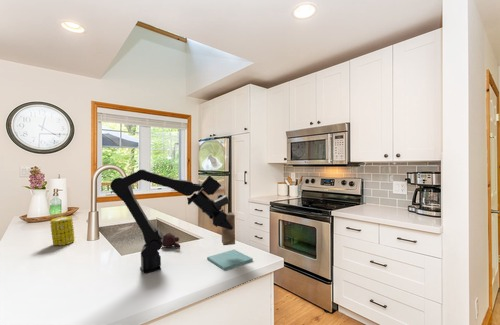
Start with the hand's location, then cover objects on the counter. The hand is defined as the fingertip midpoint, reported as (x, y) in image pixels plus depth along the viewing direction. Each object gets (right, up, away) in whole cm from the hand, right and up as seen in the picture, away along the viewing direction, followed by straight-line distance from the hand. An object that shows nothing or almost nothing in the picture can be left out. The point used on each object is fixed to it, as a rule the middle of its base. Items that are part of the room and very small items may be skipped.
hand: (231, 227), depth 110 cm
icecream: (-33, -14, +17) cm, 40 cm away
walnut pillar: (-1, -7, 0) cm, 7 cm away
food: (-91, -15, +25) cm, 96 cm away
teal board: (0, -14, -1) cm, 14 cm away
